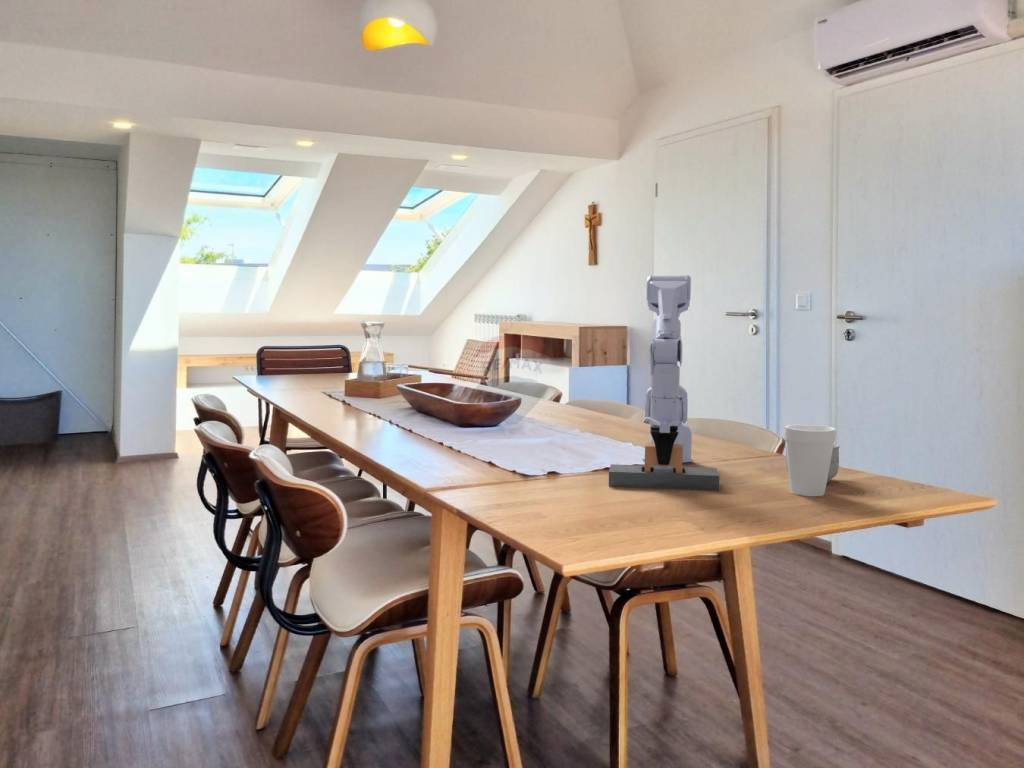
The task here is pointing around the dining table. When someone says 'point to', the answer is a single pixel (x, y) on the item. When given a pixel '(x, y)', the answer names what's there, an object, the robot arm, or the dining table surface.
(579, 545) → the dining table surface
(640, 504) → the dining table surface
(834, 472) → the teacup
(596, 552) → the dining table surface
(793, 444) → the foam cup
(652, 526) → the dining table surface
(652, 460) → the tan orange block
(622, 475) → the slate rail
